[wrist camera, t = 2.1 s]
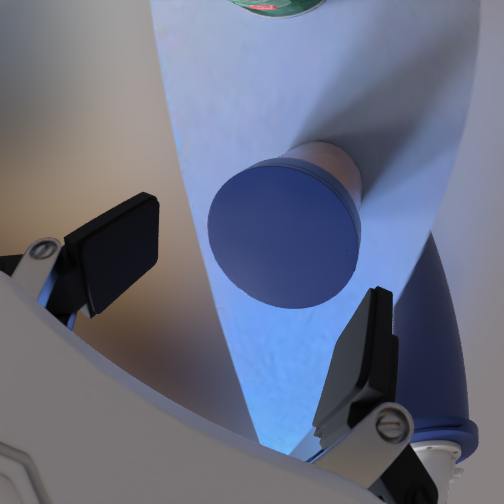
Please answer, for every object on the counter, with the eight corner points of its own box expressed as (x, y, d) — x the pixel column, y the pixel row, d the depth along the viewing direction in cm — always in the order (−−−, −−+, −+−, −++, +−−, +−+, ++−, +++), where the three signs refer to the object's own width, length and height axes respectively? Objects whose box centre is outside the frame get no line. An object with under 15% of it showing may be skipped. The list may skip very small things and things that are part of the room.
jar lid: (386, 192, 11) (387, 205, 10) (331, 308, 15) (324, 329, 14) (237, 138, 12) (219, 144, 11) (215, 257, 16) (199, 274, 15)
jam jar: (375, 160, 17) (375, 204, 10) (344, 237, 21) (321, 316, 14) (288, 129, 19) (229, 150, 12) (268, 207, 22) (209, 267, 15)
